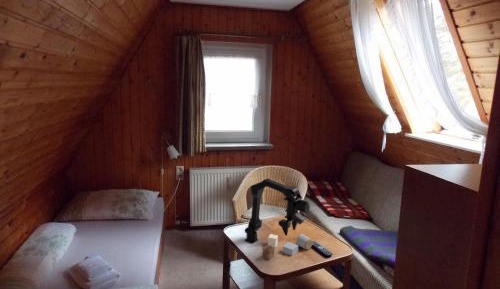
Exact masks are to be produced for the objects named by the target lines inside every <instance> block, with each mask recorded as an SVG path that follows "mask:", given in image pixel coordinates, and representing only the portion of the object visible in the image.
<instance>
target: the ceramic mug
mask: <svg viewBox="0 0 500 289" xmlns="http://www.w3.org/2000/svg"><path fill="white" fill-rule="evenodd" d="M312 243H313V240H312V239H311V238H310V237H309V236H306V235H305V234H303V233H300V234H298V236H297V237H296V240H295V244H296V245H298V247H301V248H302V249H305V250H310V249H311V248H312V247H313V246H314V243H313V244H312ZM312 245H313V246H312Z"/></svg>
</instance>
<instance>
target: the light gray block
mask: <svg viewBox="0 0 500 289" xmlns="http://www.w3.org/2000/svg"><path fill="white" fill-rule="evenodd" d="M298 252H299V245H297V244H296V243H293V242H290V241H288V242H287V243H285V244H284V245H282V253H283V254H287V255H289V256H294V255H296V254H297V253H298Z"/></svg>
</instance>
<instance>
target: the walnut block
mask: <svg viewBox="0 0 500 289" xmlns="http://www.w3.org/2000/svg"><path fill="white" fill-rule="evenodd" d="M274 257H275V247H271V246H269V245H268V244H267V245H265V246H264V247H263V248H262V258H263V259H265V260H267V261H271V260H272V259H273V258H274Z"/></svg>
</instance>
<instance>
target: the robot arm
mask: <svg viewBox="0 0 500 289" xmlns="http://www.w3.org/2000/svg"><path fill="white" fill-rule="evenodd" d="M266 187H267V188H269V189H271V190H272V189H273V190H274V191H277V192H280V193H282V194H283V195H284V196H285V198H283V200H284V201H286V209H284V210H285V211H284V212H285V214H286V215H284V218H283V219H280V220H279V221H278V226H280V227H281V228H282V231H283V233H284V234H283V235H285V236H288V235H289V234H288V233H289V228H291V227H292V230H293V231H296V228H297V225H302V224H303V223H304V222H305V220H306V219H307V217H306V216H307V215H306V214H307V213H308V212H309V211H310V203H309V200H305V199H303V196H302V194H301V193H300V190H299V188H298V187H296V186H294V185H293V186H292V185H285V184H282V183H280V182H277V181H275V180H273V179H270V178H266V179H263V180H262V181H260V182H257V183H254V184H252V185H251V187H250V193H251V196H252V207H251V216H250V219H249V221H248V225H247V227H246V228H245V229H244V233H246V235H245V236H246V237H245V239H244V241H245V242H248V243H250V244H254V243H256V242H258V241H259V238H258V231H259V230H260V229H261V228H262V227H263V225H262V223H263V220H261V219H260V212H261V211H260V209H261V198H262V196H263V194H264V190H265V188H266Z"/></svg>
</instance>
